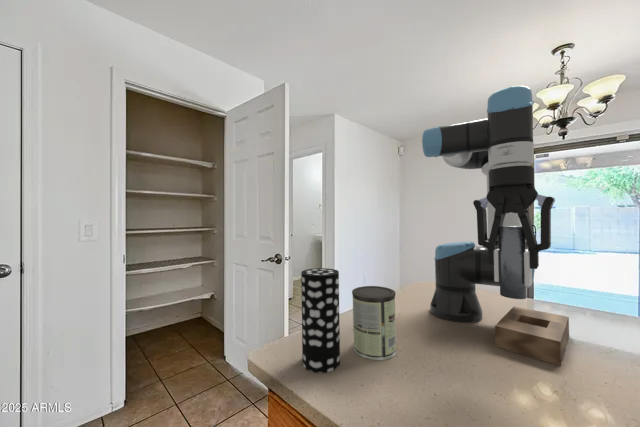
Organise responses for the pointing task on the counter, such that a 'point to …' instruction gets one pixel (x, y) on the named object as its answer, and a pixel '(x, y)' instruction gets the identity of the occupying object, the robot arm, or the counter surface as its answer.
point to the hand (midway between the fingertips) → (512, 282)
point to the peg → (512, 262)
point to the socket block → (533, 334)
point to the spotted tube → (320, 319)
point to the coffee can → (374, 322)
